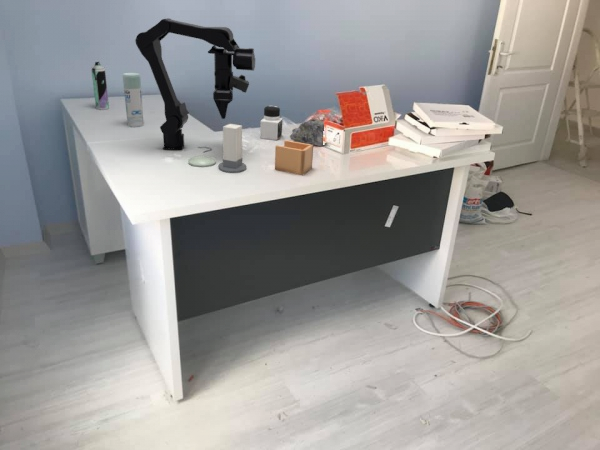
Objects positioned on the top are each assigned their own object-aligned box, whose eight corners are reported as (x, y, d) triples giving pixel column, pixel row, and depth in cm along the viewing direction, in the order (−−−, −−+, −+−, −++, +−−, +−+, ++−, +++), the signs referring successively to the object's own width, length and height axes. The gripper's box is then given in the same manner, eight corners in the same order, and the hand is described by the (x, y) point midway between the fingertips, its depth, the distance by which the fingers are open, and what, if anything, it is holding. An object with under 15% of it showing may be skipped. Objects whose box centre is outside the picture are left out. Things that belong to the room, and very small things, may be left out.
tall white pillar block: (223, 166, 160) (222, 126, 155) (229, 162, 164) (229, 123, 159) (235, 168, 159) (235, 128, 153) (242, 164, 163) (242, 125, 157)
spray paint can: (146, 126, 201) (142, 75, 192) (130, 127, 197) (125, 75, 189) (141, 122, 206) (136, 72, 197) (125, 123, 202) (120, 73, 194)
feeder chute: (311, 168, 166) (313, 144, 163) (302, 175, 160) (304, 151, 156) (284, 162, 170) (285, 140, 166) (274, 169, 163) (275, 146, 159)
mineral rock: (288, 142, 192) (289, 116, 188) (305, 137, 200) (307, 112, 196) (314, 150, 185) (316, 123, 181) (331, 144, 193) (333, 118, 188)
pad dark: (218, 172, 157) (218, 170, 157) (218, 163, 165) (218, 160, 165) (246, 172, 159) (246, 170, 158) (246, 163, 167) (246, 161, 166)
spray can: (106, 110, 221) (101, 63, 212) (94, 109, 221) (88, 62, 212) (110, 107, 226) (105, 61, 217) (98, 106, 226) (93, 60, 217)
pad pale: (187, 166, 161) (187, 164, 160) (189, 157, 169) (189, 155, 168) (215, 167, 162) (215, 164, 161) (216, 158, 170) (216, 156, 169)
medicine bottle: (277, 140, 193) (278, 109, 188) (259, 138, 194) (260, 107, 189) (281, 135, 200) (283, 105, 194) (264, 133, 201) (265, 104, 195)
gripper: (248, 74, 157) (248, 122, 164) (247, 65, 174) (246, 109, 181) (212, 72, 156) (213, 122, 162) (214, 63, 172) (215, 108, 179)
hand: (223, 115), depth 171 cm, fingers open, 9 cm apart
